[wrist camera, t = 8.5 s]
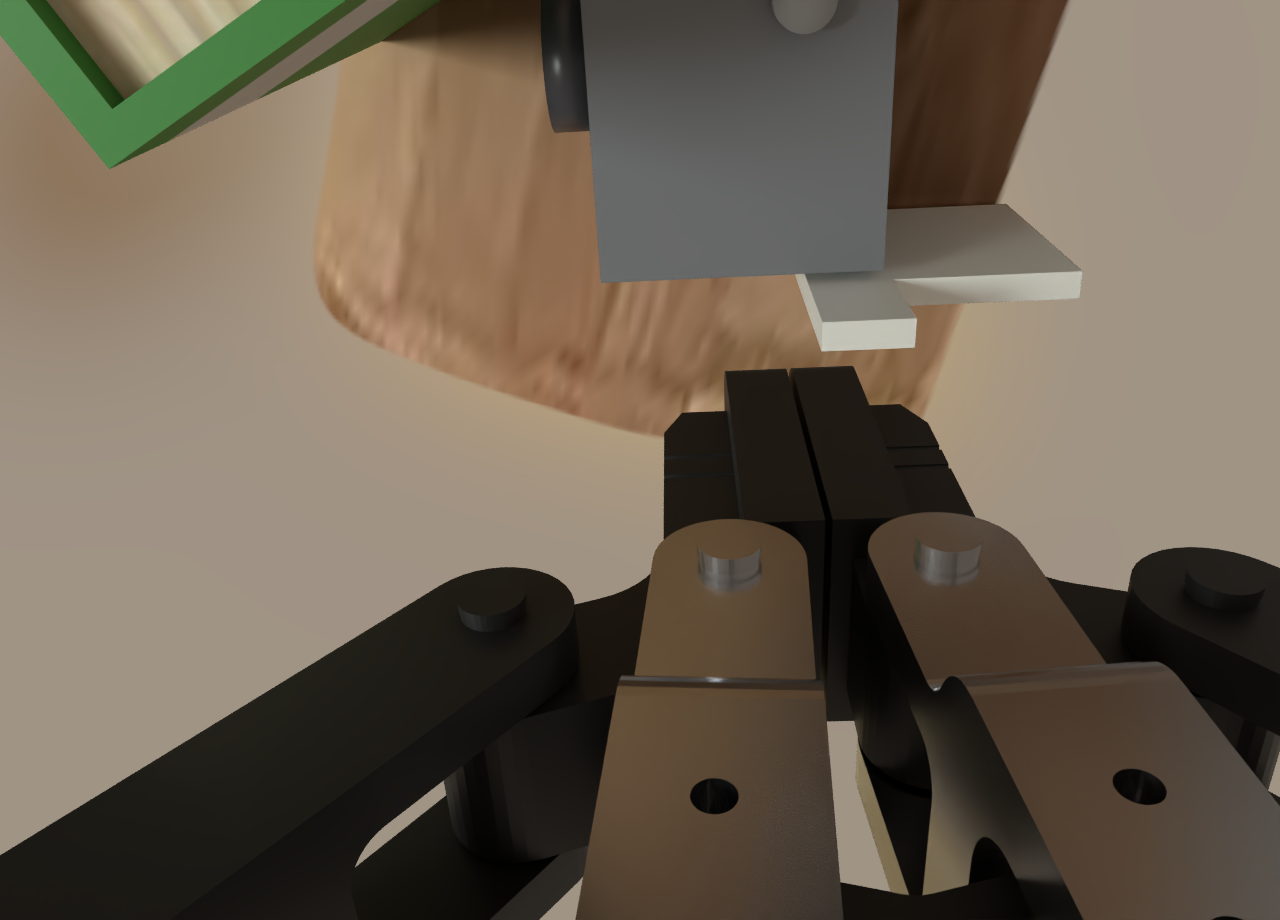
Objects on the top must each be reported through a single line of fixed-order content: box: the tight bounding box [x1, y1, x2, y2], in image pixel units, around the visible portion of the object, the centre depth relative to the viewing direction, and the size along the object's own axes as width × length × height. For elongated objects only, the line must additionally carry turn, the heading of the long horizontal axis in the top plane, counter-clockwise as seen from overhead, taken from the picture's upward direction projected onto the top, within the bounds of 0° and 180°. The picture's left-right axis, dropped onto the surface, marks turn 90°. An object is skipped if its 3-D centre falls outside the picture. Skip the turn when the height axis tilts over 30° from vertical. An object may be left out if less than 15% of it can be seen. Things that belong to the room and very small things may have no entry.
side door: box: [795, 204, 1083, 351], centre depth 40 cm, size 1×10×14 cm, turn 93°
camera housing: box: [541, 0, 898, 283], centre depth 39 cm, size 12×12×11 cm
